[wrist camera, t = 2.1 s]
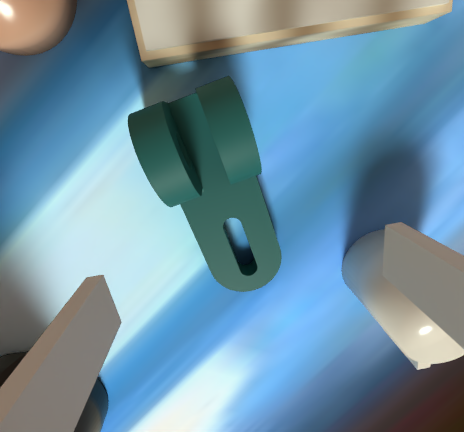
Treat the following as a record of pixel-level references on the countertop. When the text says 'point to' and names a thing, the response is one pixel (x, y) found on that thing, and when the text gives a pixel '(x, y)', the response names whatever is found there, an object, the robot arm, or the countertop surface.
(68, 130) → the countertop surface
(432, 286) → the robot arm
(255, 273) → the bracket
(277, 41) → the tray
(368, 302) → the mug
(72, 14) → the peach flattened dome
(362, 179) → the countertop surface
